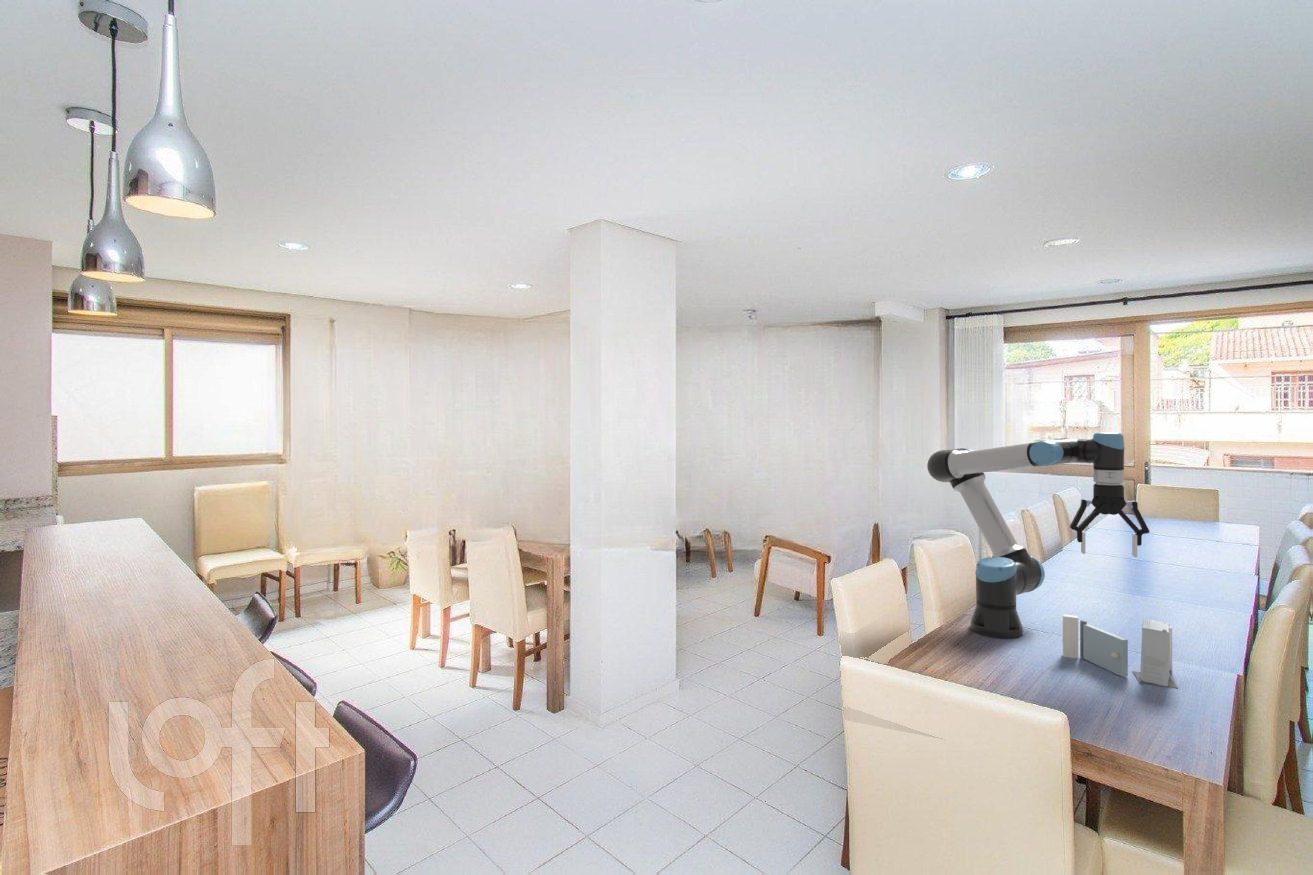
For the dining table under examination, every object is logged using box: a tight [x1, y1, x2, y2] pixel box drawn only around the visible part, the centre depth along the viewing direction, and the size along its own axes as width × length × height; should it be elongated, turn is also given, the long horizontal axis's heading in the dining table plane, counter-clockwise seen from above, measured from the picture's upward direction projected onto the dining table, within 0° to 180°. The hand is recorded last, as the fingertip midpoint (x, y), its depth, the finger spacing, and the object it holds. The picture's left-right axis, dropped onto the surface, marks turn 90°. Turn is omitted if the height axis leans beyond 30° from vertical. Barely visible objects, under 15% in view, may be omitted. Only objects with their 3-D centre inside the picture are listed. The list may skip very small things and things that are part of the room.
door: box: [1079, 620, 1129, 678], centre depth 175 cm, size 15×3×11 cm, turn 8°
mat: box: [1132, 670, 1179, 689], centre depth 167 cm, size 8×8×1 cm
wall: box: [1062, 614, 1173, 672], centre depth 179 cm, size 25×2×12 cm, turn 63°
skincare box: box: [1139, 618, 1171, 687], centre depth 166 cm, size 8×6×15 cm
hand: (1108, 554), depth 189 cm, fingers open, 12 cm apart
